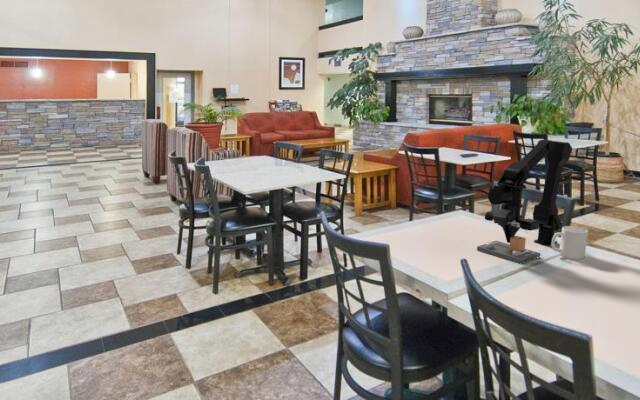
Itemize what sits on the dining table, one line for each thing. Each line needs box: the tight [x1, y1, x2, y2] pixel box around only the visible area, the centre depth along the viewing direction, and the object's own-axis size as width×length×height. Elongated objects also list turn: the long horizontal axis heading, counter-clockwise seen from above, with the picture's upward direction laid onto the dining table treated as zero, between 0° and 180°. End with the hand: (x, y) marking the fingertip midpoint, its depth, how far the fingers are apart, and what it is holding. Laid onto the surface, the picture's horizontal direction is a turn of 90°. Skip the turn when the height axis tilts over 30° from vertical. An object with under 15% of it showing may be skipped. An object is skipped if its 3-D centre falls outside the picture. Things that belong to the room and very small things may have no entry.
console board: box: [476, 240, 541, 264], centre depth 180 cm, size 12×18×3 cm, turn 37°
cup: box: [550, 225, 589, 261], centre depth 177 cm, size 8×12×10 cm
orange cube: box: [509, 235, 527, 251], centre depth 179 cm, size 4×4×4 cm
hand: (508, 242), depth 181 cm, fingers closed
